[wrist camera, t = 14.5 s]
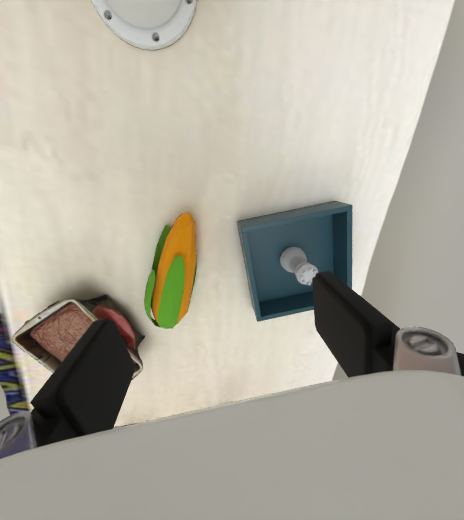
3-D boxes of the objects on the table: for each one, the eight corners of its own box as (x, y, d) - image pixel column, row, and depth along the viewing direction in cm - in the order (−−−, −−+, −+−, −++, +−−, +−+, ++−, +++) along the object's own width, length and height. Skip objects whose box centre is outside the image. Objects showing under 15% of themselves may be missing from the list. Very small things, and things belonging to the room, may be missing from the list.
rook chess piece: (276, 268, 41) (291, 289, 33) (282, 244, 39) (299, 261, 32) (300, 270, 41) (320, 292, 34) (306, 247, 40) (329, 264, 32)
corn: (135, 339, 35) (152, 210, 28) (145, 310, 42) (160, 201, 35) (184, 343, 37) (211, 222, 30) (186, 315, 44) (208, 212, 37)
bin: (236, 221, 38) (240, 228, 33) (334, 200, 38) (352, 204, 33) (252, 305, 44) (257, 321, 39) (336, 287, 44) (351, 301, 39)
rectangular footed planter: (111, 272, 41) (70, 294, 31) (163, 350, 45) (140, 392, 35) (50, 304, 43) (-6, 334, 34) (104, 376, 47) (67, 422, 37)
